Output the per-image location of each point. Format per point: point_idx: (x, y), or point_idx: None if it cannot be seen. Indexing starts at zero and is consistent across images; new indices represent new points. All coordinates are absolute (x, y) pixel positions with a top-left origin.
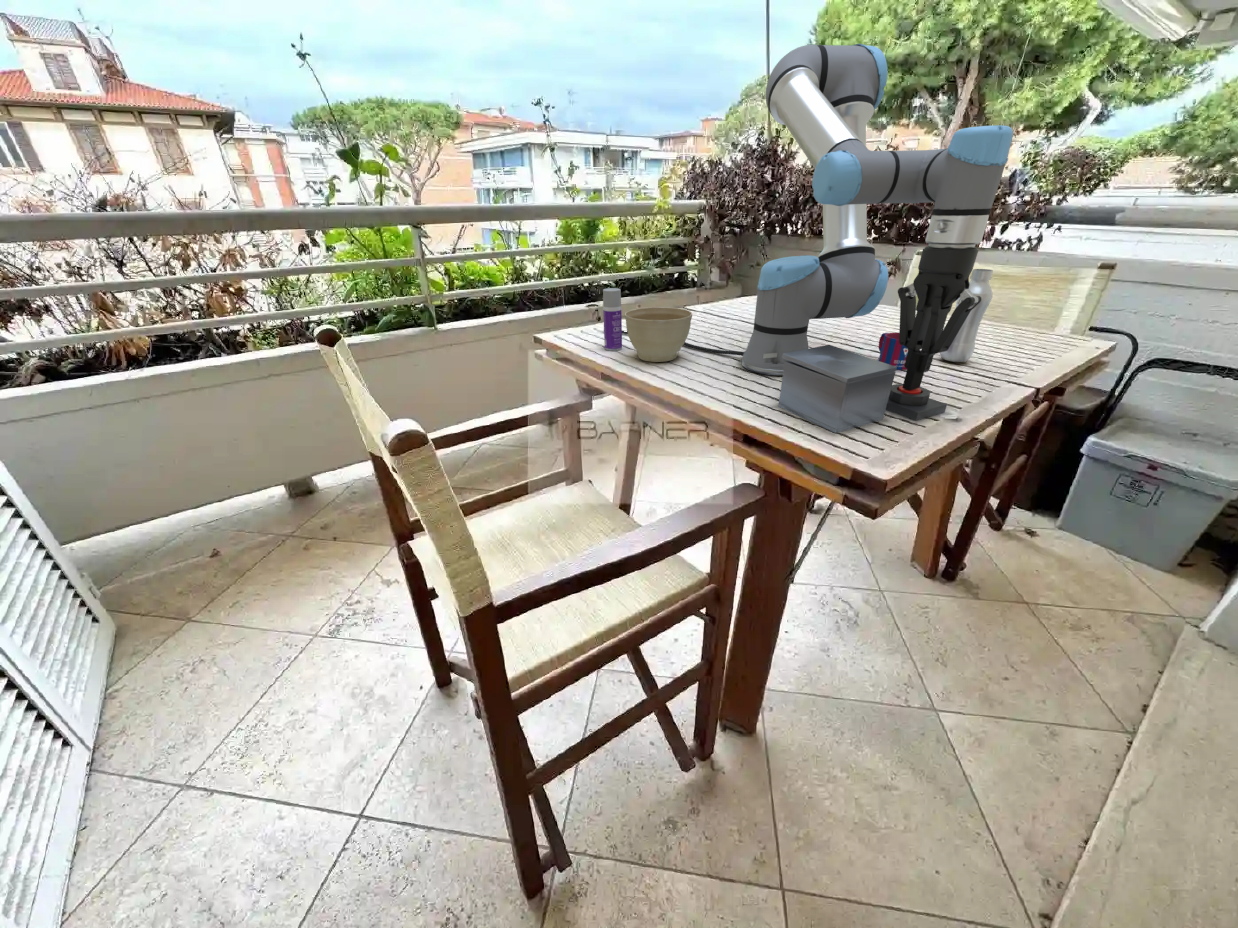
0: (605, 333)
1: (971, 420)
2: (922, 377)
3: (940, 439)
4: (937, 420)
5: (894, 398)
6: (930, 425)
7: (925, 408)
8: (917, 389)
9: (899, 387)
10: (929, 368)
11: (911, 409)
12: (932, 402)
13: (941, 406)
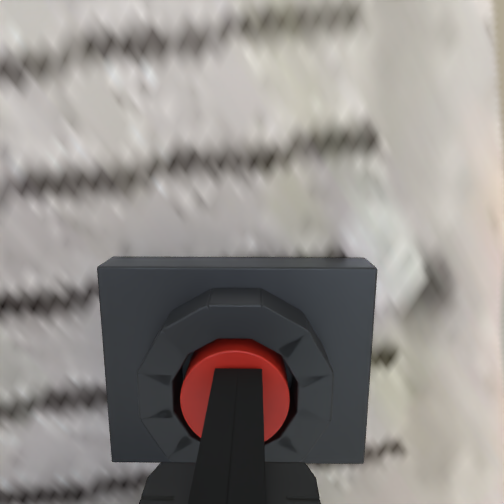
0: None
1: (474, 235)
2: (262, 403)
3: (491, 492)
4: (393, 353)
5: None
6: (405, 418)
7: (353, 400)
8: (262, 380)
9: (194, 429)
10: (316, 486)
11: (326, 456)
12: (326, 309)
13: (373, 309)
